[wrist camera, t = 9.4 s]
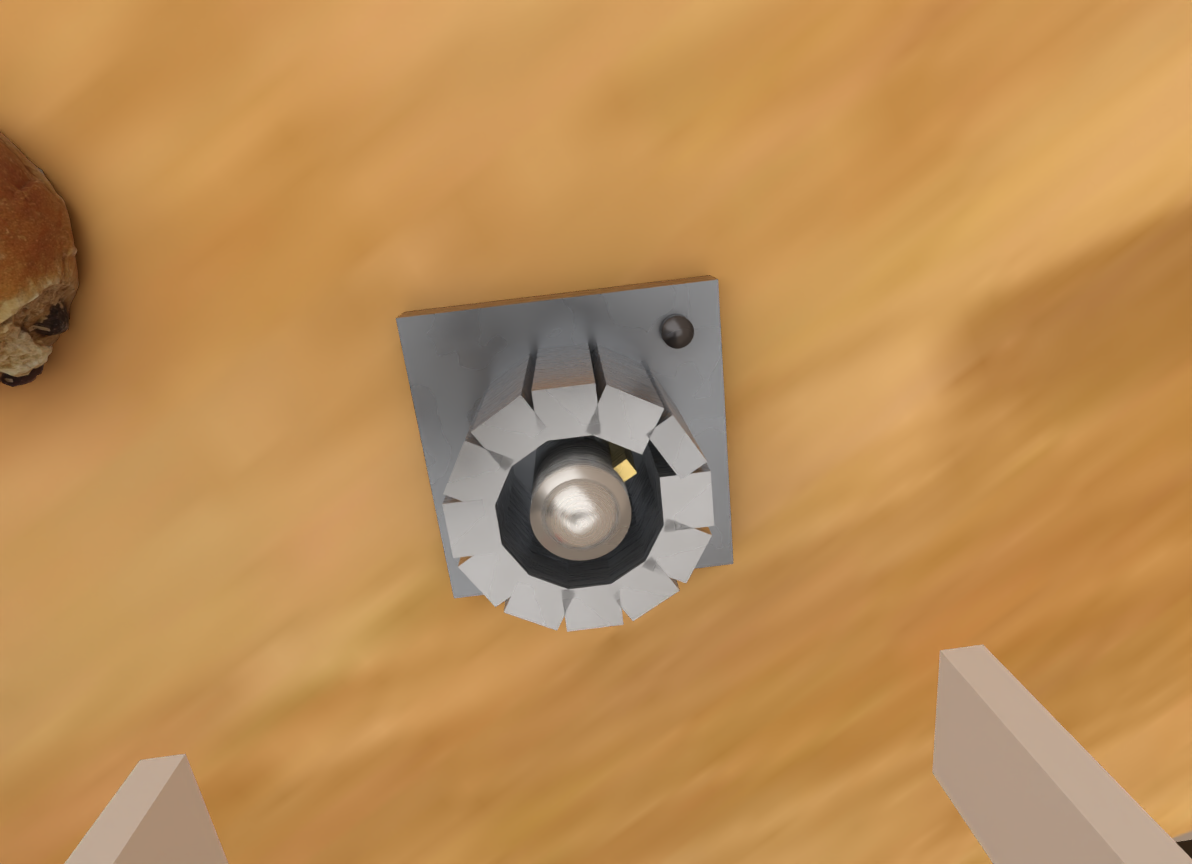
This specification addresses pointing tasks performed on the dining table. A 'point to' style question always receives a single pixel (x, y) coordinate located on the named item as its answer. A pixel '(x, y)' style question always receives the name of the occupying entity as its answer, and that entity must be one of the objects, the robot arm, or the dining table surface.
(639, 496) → the tube
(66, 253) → the bread roll
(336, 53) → the dining table surface
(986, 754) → the robot arm
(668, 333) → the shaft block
